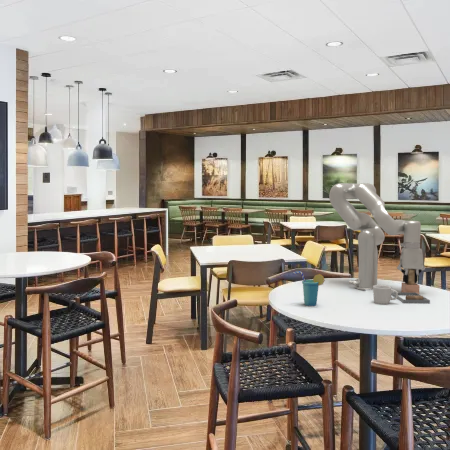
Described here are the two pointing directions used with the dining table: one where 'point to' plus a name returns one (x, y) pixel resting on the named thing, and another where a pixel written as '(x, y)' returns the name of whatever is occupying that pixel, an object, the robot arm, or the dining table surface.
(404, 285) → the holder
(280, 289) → the dining table surface
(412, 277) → the oak dowel
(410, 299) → the walnut dowel
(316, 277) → the cup
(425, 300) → the tray
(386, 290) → the cup
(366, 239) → the robot arm
